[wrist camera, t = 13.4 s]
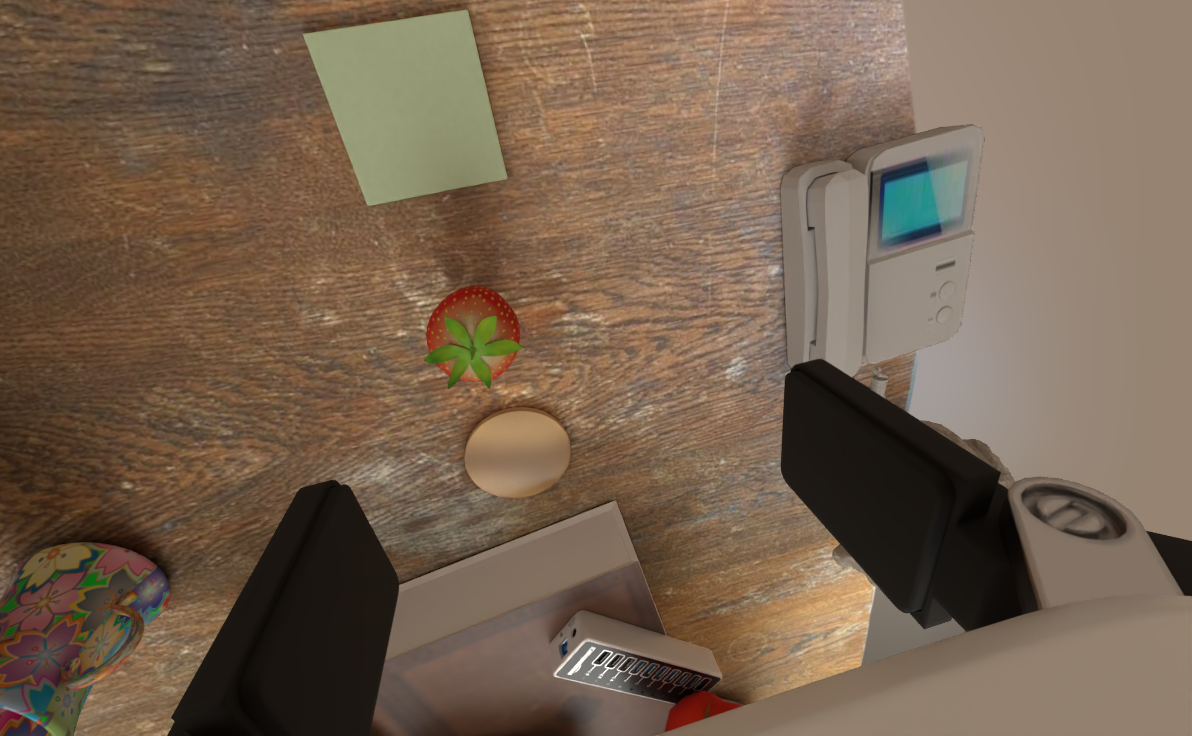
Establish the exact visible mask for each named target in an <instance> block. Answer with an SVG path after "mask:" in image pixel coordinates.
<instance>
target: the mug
mask: <svg viewBox="0 0 1192 736" xmlns="http://www.w3.org/2000/svg"><path fill="white" fill-rule="evenodd" d="M169 598H170V586H169V583H168V580H167V578H166V576H165V574H164V573H163V572H162V571H161V569H160V568H159V567H158V566H157V565H155V564H154V563H153V562H152V561H150V560H149V559H147V558H145V557H144V556H142V555H140V554H138V553H136V552H133V551H131V550H128V549H125V548H122V547H118V546H114V545H109V544H103V543H92V542H78V543H68V544H62V545H57V546H53V547H49V548H46V549H44V550H41V551H39V552H37V553H35V554H33V555H31V556H30V557H28V558H26V559H25V560H24V561H23V562H21V563H20V564H19V566H18V567H17V568H16V569H15V571H14V572H13V574H12V577H11V580H10V583H9V586H8V588H7V590H6V591H5V593H4V595H3V596H2V598H1V599H0V736H74V732H75V728H76V725H77V721H78V718H79V715H80V713H81V710H82V708H83V705H84V703H85V701H86V699H87V696H88V694H89V692H90V690H91V688H92V686H93V685H94V683H96V682H98V681H100V680H102V679H103V678H105V677H106V676H108V675H109V674H111V673H112V672H113V671H115V670H116V669H117V668H118V667H120V666H121V665H122V664H123V663H124V662H125V661H126V660H127V659H128V658H129V657H130V656H131V655H132V653H133V652H134V651H135V649H136V648H137V646H138V645H139V643H140V641H141V639H142V636H143V633H144V626H145V625H147V624H149V623H150V622H152V621H153V620H154V619H156V618H157V617H158V616H159V615H160V614H161V613H162V612H163V611H164V609H165V608H166V606H167V604H168V601H169ZM119 648H120V649H119ZM118 649H119V650H118ZM117 650H118V651H117ZM116 651H117V652H116ZM115 652H116V653H115Z"/></svg>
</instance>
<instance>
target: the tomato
mask: <svg viewBox="0 0 1192 736" xmlns="http://www.w3.org/2000/svg"><path fill="white" fill-rule="evenodd" d="M741 706H742V705H740V704H735V703H731V702H726V701H724V700H722V699H721V698H719V697H718V696H716V695H715V694H713V693H711V692H706V691H700V692H697V693H694V694H690V695H687V696H685V697H684V698H683V699H681V700H680V701H679V702H678V703H677V704H676V705H675V706H674V707H672V708H671V709H670V710H669V714H668V719H667V723H666V728H665V732H667V731H670V730H673V729H676V728H679V727H682V726H685V725H688V724H691V723H694V722H697V721H700V720H703V719H706V718H709V717H712V716H715V715H718V714H721V713H724V712H727V711H730V710H733V709H735V708H738V707H741ZM665 732H664V733H665Z"/></svg>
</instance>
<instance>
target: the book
mask: <svg viewBox="0 0 1192 736" xmlns="http://www.w3.org/2000/svg"><path fill="white" fill-rule="evenodd" d="M581 610H586V611H589V612H592V613H595V614H599V615H602V616H605V617H608V618H612V619H615V620H618V621H621V622H624V623H628V624H631V625H634V626H637V627H640V628H644V629H647V630H650V631H653V632H657V633H660V634H663V635H666V636H667V634H666V632H665V629H664V626H663V624H662V621H661V618H660V616H659V613H658V611H657V608H656V605H655V603H654V600H653V597H652V595H651V592H650V589H649V587H648V584H647V581H646V579H645V576H644V574H643V571H642V568H641V566H640V563H639V560H638V558H637V555H636V552H635V550H634V547H633V545H632V542H631V539H630V537H629V534H628V531H627V529H626V526H625V523H624V521H623V518H622V515H621V513H620V510H619V508H618V505H617V502H616V500H615V501H612V502H610V503H607V504H605V505H602V506H600V507H597V508H594V509H592V510H589V511H587V512H584V513H582V514H579V515H577V516H574V517H572V518H569V519H566V520H564V521H561V522H559V523H556V524H554V525H551V526H549V527H546V528H543V529H541V530H538V531H536V532H533V533H531V534H528V535H526V536H523V537H521V538H518V539H515V540H513V541H510V542H508V543H505V544H503V545H500V546H498V547H495V548H492V549H490V550H487V551H485V552H482V553H480V554H477V555H475V556H472V557H470V558H467V559H464V560H462V561H459V562H457V563H454V564H452V565H449V566H447V567H444V568H441V569H439V570H436V571H434V572H431V573H429V574H426V575H424V576H421V577H419V578H416V579H413V580H411V581H408V582H406V583H403V584H401V585H399V594H398V599H397V604H396V609H395V614H394V619H393V623H392V628H391V633H390V638H389V643H388V648H387V653H386V658H385V662H384V667H383V672H382V677H381V682H380V687H379V692H378V697H377V701H376V706H375V711H374V716H373V721H372V726H371V731H370V736H656V735H659V734H662V733H664V732H665V728H666V723H667V719H668V714H669V710H670V709H671V708H672V707H674V706H675V705H676V704H672V703H667V702H663V701H658V700H654V699H650V698H645V697H641V696H637V695H632V694H628V693H623V692H619V691H615V690H610V689H606V688H601V687H597V686H593V685H588V684H584V683H580V682H575V681H571V680H566V679H562V678H558V677H554V676H553V671H552V662H551V654H550V642H551V641H552V640H553V639H554V638H555V637H556V636H557V634H558V633H559V632H560V631H561V630H562V629H563V628H564V627H565V625H566V624H567V623H568V622H569V621H570V620H571V619H572V617H573V616H574V615H575V614H576V613H577V612H578V611H581Z"/></svg>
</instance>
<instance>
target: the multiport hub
mask: <svg viewBox="0 0 1192 736" xmlns="http://www.w3.org/2000/svg"><path fill="white" fill-rule="evenodd" d="M550 654H551V662H552V671H553V676H554V677H558V678H562V679H566V680H571V681H575V682H580V683H584V684H588V685H593V686H597V687H601V688H606V689H610V690H615V691H619V692H623V693H628V694H632V695H637V696H641V697H645V698H650V699H654V700H658V701H663V702H667V703H672V704H677V703H678V702H679V701H680V700H681V699H683V698H684V697H685V696H687V695H690V694H694V693H697V692H700V691H706V692H709V691H710V690H711V689H712V688H713V687H714V686H715V685H716V684H717V683H718V682H719V681H720V680H721V679H722V678H723V676H722V674H721V672H720V669H719V667H718V665H717V662H716V660H715V658H714V656H713V653H712V651H711V649H708V648H705V647H702V646H698V645H695V644H692V643H689V642H685V641H682V640H679V639H676V638H673V637H669V636H666V635H663V634H660V633H657V632H653V631H650V630H647V629H644V628H640V627H637V626H634V625H631V624H628V623H624V622H621V621H618V620H615V619H612V618H608V617H605V616H602V615H599V614H595V613H592V612H589V611H586V610H581V611H578V612H577V613H576V614H575V615H574V616H573V617H572V619H571V620H570V621H569V622H568V623H567V624H566V625H565V627H564V628H563V629H562V630H561V631H560V632H559V633H558V634H557V636H556V637H555V638H554V639H553V640H552V641H551V642H550Z"/></svg>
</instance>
